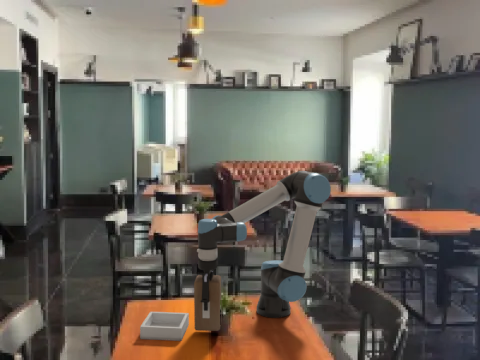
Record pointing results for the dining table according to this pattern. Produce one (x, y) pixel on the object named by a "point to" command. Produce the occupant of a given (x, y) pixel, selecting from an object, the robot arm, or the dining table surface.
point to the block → (214, 299)
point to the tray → (164, 326)
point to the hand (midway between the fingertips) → (208, 312)
